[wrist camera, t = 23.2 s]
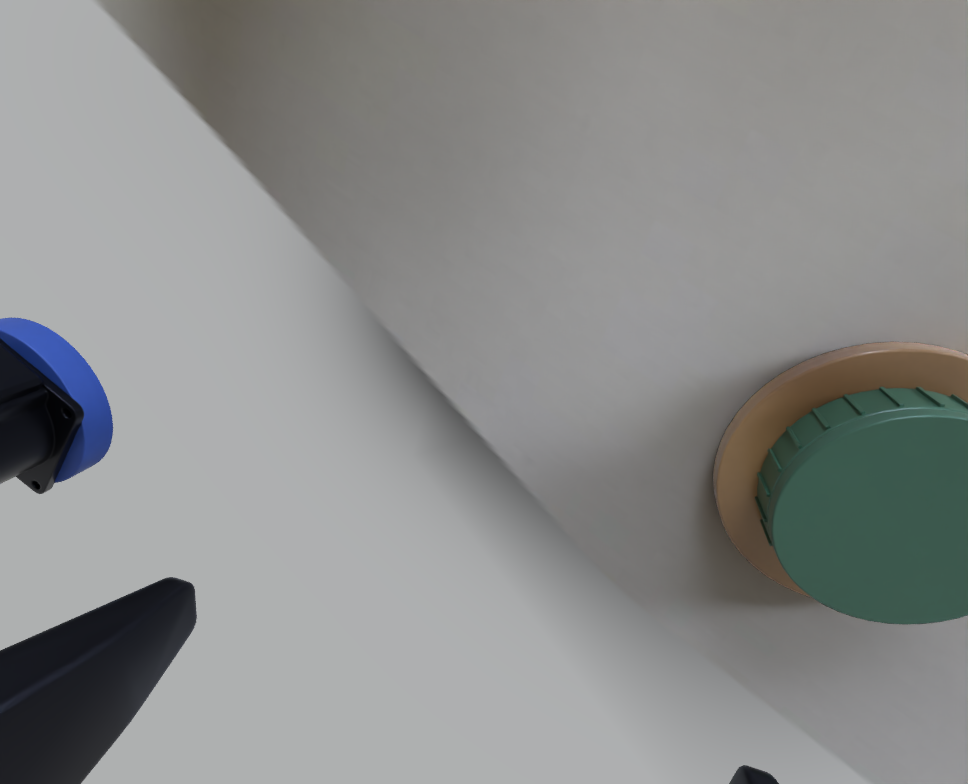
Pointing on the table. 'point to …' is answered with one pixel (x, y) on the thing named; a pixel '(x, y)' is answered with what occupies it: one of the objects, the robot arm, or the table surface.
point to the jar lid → (874, 505)
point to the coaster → (794, 400)
